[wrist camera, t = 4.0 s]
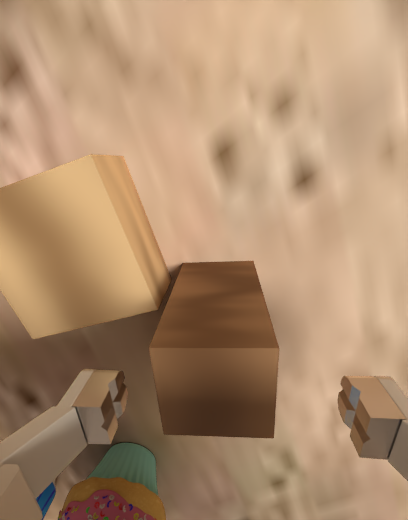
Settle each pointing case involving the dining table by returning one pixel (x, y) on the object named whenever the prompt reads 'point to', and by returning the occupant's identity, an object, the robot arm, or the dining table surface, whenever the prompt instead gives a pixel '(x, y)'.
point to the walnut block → (216, 354)
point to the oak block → (78, 248)
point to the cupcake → (117, 488)
